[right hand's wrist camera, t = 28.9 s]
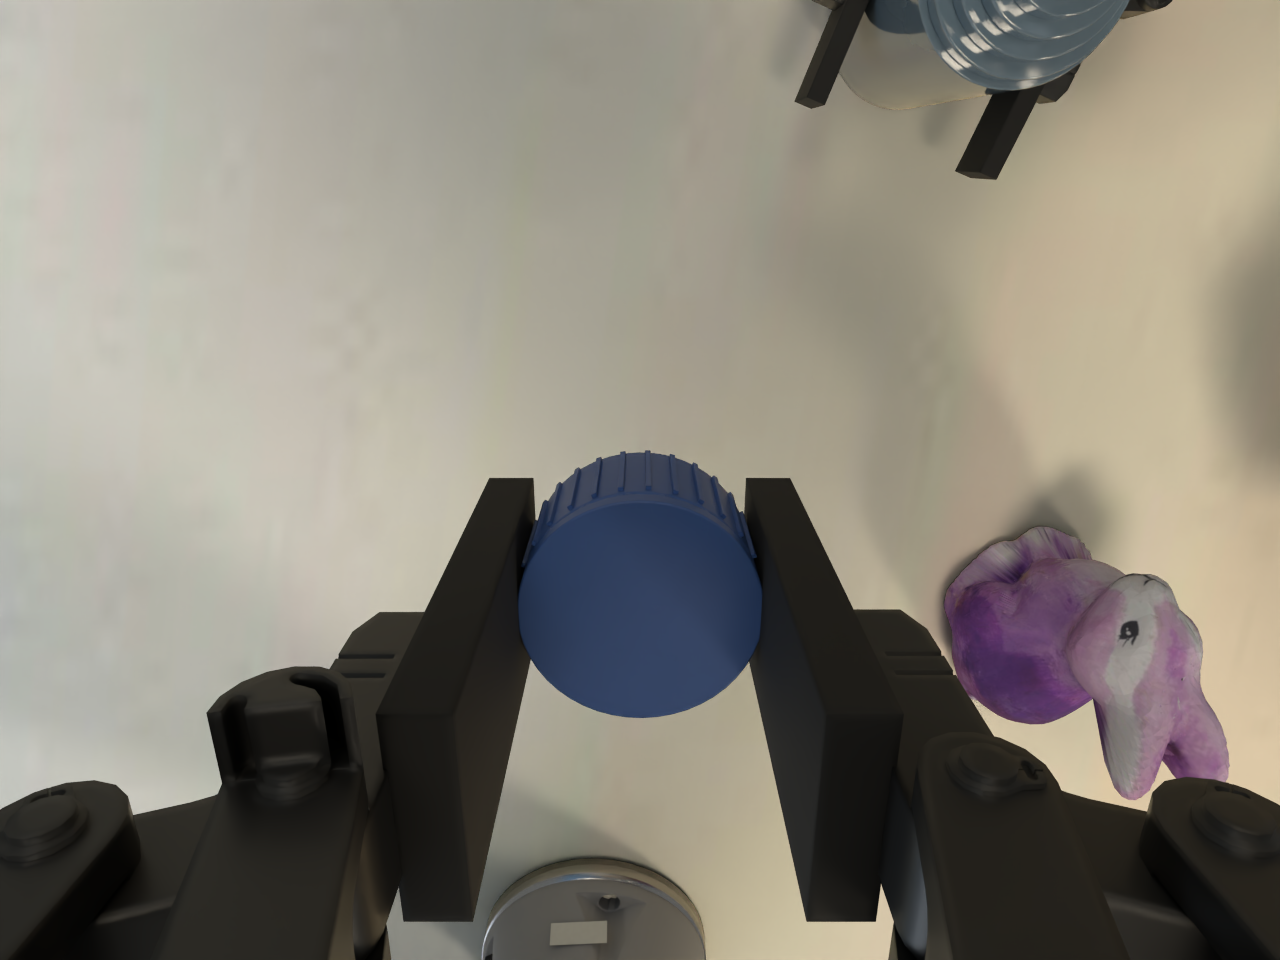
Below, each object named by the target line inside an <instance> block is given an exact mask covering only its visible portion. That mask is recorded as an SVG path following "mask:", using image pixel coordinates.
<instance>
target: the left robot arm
mask: <svg viewBox="0 0 1280 960" xmlns="http://www.w3.org/2000/svg"><path fill="white" fill-rule="evenodd" d="M812 1H814V2H816V3H818V4H821V5H823V6H825V7H827V8H829V9H832V12H831V15H830V17H829V19H828V22H827V24H826V27H825V29H824V32H823V34H822V36H821V39H820V41H819V44H818V46H817V48H816V51H815V53H814V56H813V58H812V61H811V63H810V65H809V68H808V70H807V73H806V75H805V77H804V80H803V82H802V85H801V87H800V90H799V92H798V94H797V97H796V99H795V102H797V103H799V104H802V105H804V106H806V107H808V108H811V109H812V108H815V107H819V106H822V105H825V103H826V101H827V98H828V96H829V94H830V91H831V89H832V87H833V84H834V82H835V79H836V77H837V75H838V72H839V70H840V68H841V65H842V63H843V61H844V58H845V56H846V54H847V51H848V49H849V47H850V44H851V42H852V40H853V37H854V35H855V33H856V30H857V28H858V26H859V23H860V21H861V19H862V16H863V14H864V11H865V9H866V7H867V4H868V2H869V0H812ZM1170 2H1172V0H1129V2H1128V5H1127V7H1126V8H1125V10H1124V12H1123V14H1122V15H1121V17H1120V19H1125V18H1129V17H1133V16H1136V15H1140V14H1143V13H1147V12H1150V11H1154V10H1157V9H1160V8H1163V7H1166V6H1167V5H1168V4H1169V3H1170ZM1080 64H1081V63H1080ZM1080 64H1078V65H1077V66H1075V67H1074V68H1073V69H1071V70H1070V71H1068V72H1067V73H1065V74H1063V75H1062V76H1060V77H1058V78H1056V79H1054V80H1052V81H1049V82H1047V83H1044V84H1042V85H1039V86H1035V87H1031V88H1027V89H1022V90H1016V91H1010V92H1005V93H999V94H993V95H992V97H991V99H990V101H989V103H988V105H987V107H986V109H985V111H984V113H983V115H982V117H981V119H980V121H979V123H978V126H977V128H976V130H975V132H974V134H973V136H972V138H971V140H970V142H969V144H968V146H967V148H966V150H965V152H964V154H963V156H962V158H961V160H960V162H959V164H958V166H957V168H956V170H955V171H956V172H958V173H961V174H963V175H965V176H968V177H970V178H979V179H994V180H996V179H997V177H998V175H999V174H1000V172H1001V170H1002V168H1003V166H1004V164H1005V162H1006V160H1007V158H1008V156H1009V154H1010V152H1011V150H1012V148H1013V146H1014V144H1015V142H1016V140H1017V138H1018V136H1019V134H1020V132H1021V130H1022V129H1023V127H1024V125H1025V123H1026V121H1027V119H1028V117H1029V115H1030V113H1031V111H1032V109H1033V107H1034V105H1035V103H1036V102H1037V103H1039V104H1042V103H1049V102H1056V101H1057V100H1058V99H1059V98H1060V97H1061V96H1062V95H1063V94H1064V93H1065V92H1066V91H1067V90H1068V88H1069V86H1070V84H1071V82H1072V80H1073V78H1074V76H1075V74H1076V73H1077V71H1078V69H1079V67H1080Z"/></svg>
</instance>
